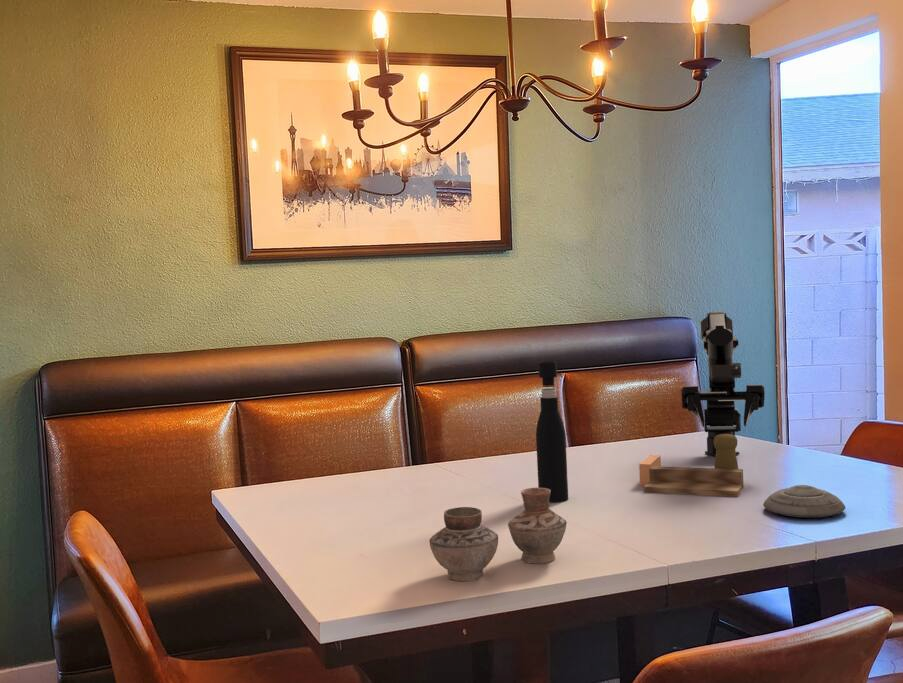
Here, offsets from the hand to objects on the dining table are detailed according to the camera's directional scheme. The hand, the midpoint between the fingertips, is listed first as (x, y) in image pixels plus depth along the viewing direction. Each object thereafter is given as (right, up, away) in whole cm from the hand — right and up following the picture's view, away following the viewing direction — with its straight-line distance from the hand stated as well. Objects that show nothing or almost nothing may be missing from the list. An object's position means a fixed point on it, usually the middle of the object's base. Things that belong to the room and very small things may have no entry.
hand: (724, 425), depth 210 cm
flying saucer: (+6, -14, -33) cm, 36 cm away
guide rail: (-9, -13, -6) cm, 17 cm away
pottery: (-55, -19, -58) cm, 82 cm away
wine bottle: (-41, -15, -12) cm, 45 cm away
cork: (-1, -13, -5) cm, 14 cm away
